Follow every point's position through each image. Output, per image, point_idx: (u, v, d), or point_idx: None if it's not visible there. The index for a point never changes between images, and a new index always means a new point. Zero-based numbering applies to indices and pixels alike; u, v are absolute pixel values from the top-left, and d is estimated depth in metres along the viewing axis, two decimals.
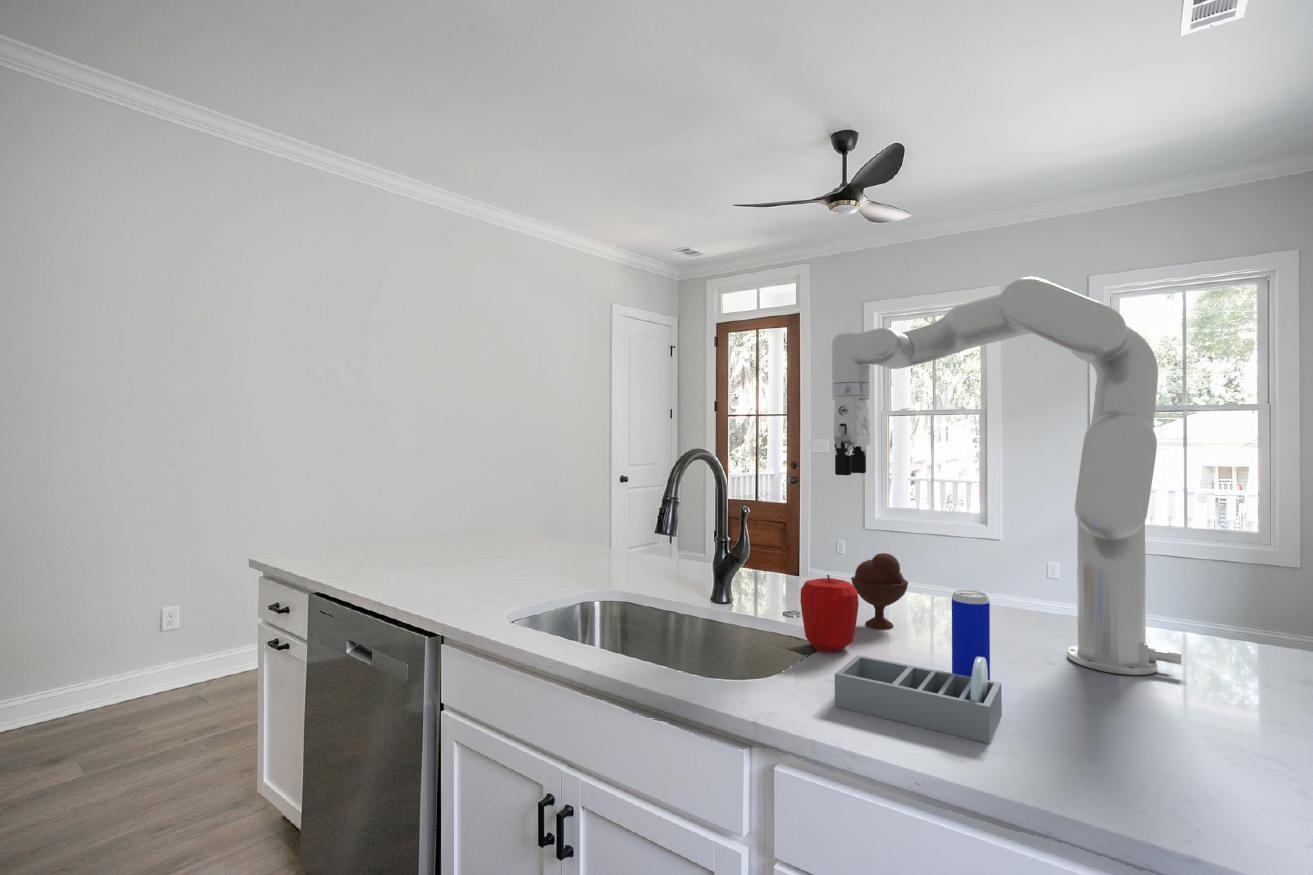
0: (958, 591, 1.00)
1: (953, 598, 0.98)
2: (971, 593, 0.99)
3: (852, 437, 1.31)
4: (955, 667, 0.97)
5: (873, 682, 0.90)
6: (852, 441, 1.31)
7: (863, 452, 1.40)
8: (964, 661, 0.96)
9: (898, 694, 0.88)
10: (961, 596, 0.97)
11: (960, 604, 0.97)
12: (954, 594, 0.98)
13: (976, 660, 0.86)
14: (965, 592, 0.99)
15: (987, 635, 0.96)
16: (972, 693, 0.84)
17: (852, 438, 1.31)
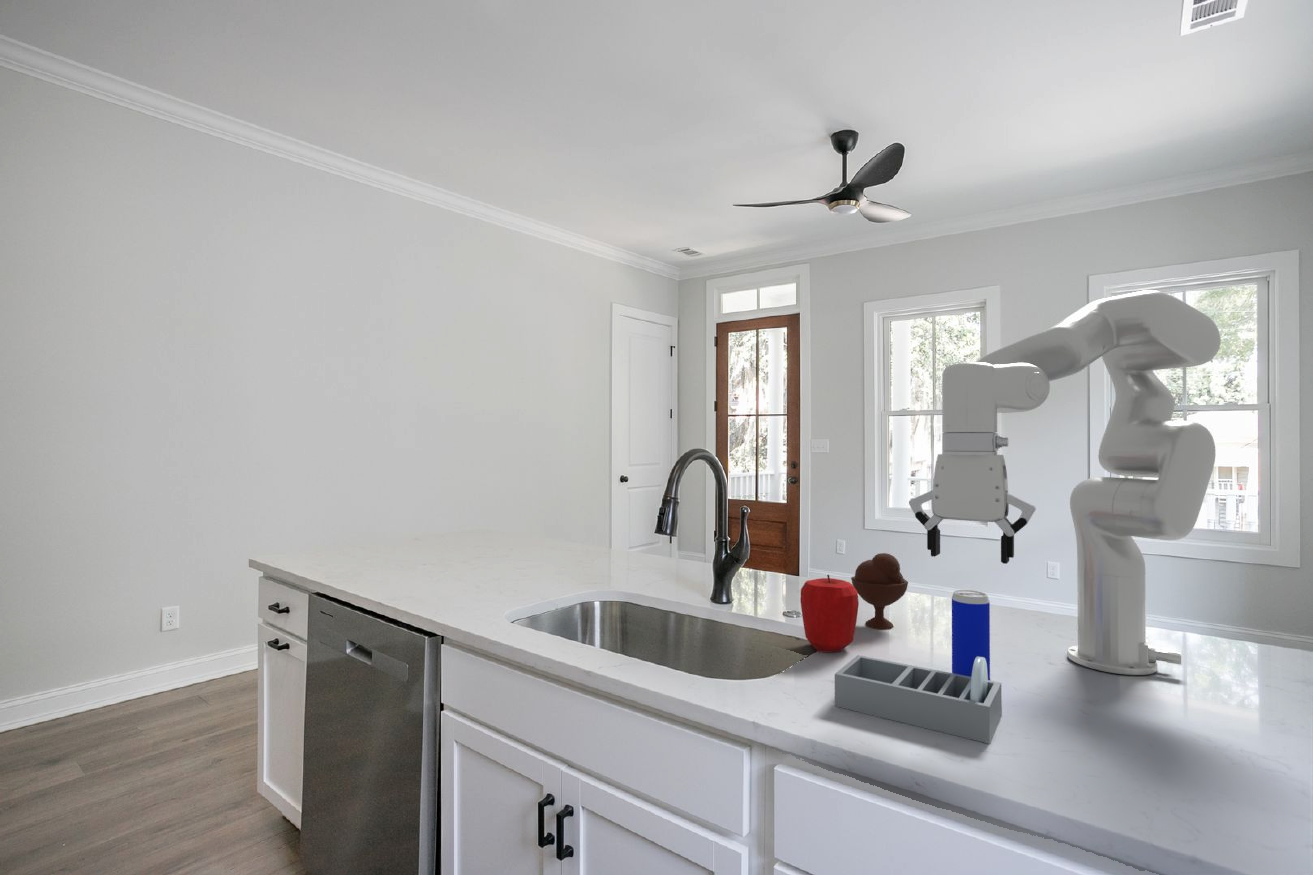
0: (958, 591, 1.00)
1: (953, 598, 0.98)
2: (971, 593, 0.99)
3: (1008, 508, 0.97)
4: (955, 667, 0.97)
5: (873, 682, 0.90)
6: None
7: None
8: (964, 661, 0.96)
9: (898, 694, 0.88)
10: (961, 596, 0.97)
11: (960, 604, 0.97)
12: (954, 594, 0.98)
13: (976, 660, 0.86)
14: (965, 592, 0.99)
15: (987, 635, 0.96)
16: (972, 693, 0.84)
17: (1008, 510, 0.97)
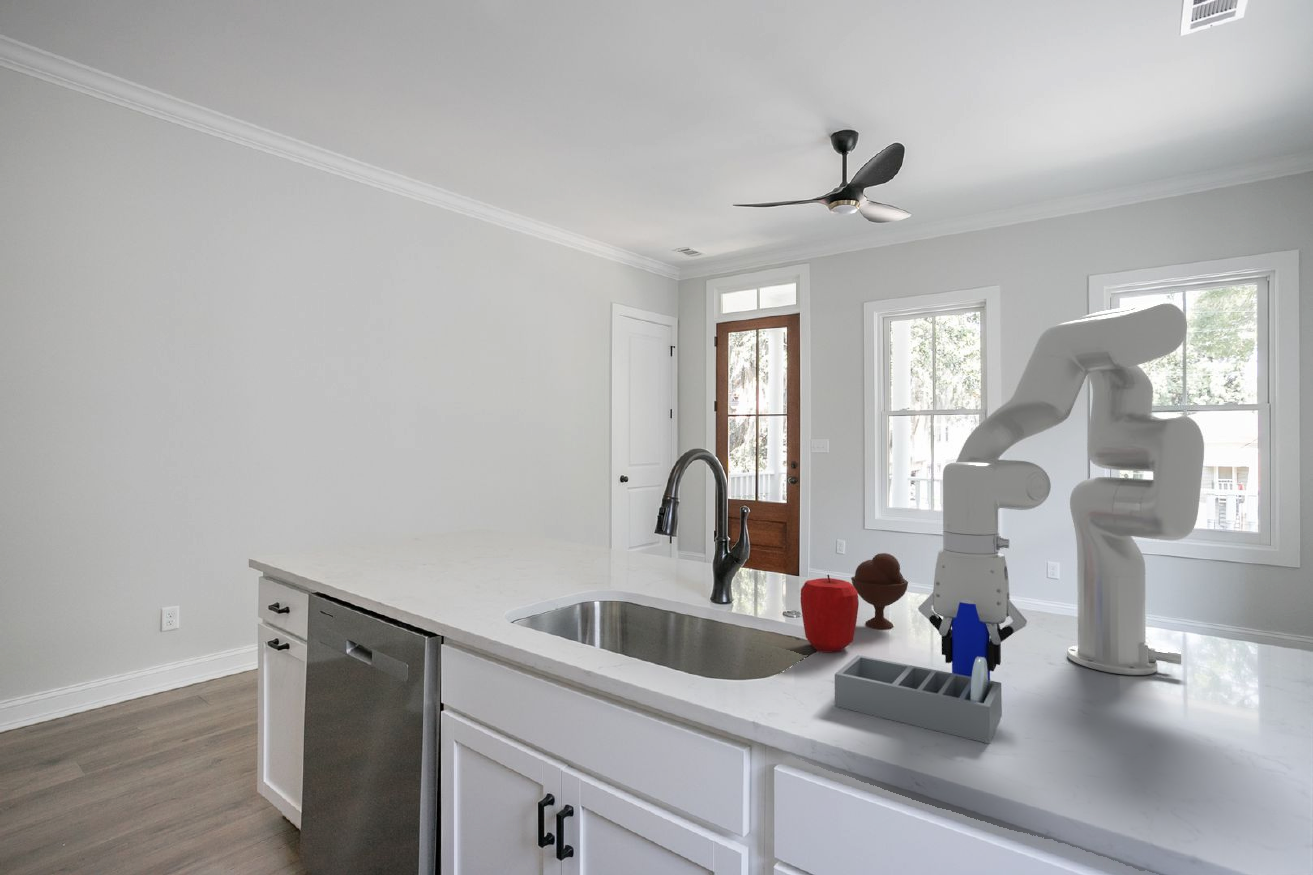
0: None
1: None
2: None
3: None
4: (955, 667, 0.97)
5: (873, 682, 0.90)
6: None
7: (950, 628, 1.01)
8: (964, 661, 0.96)
9: (898, 694, 0.88)
10: None
11: (960, 604, 0.97)
12: None
13: (976, 660, 0.86)
14: None
15: (987, 635, 0.96)
16: (972, 693, 0.84)
17: None
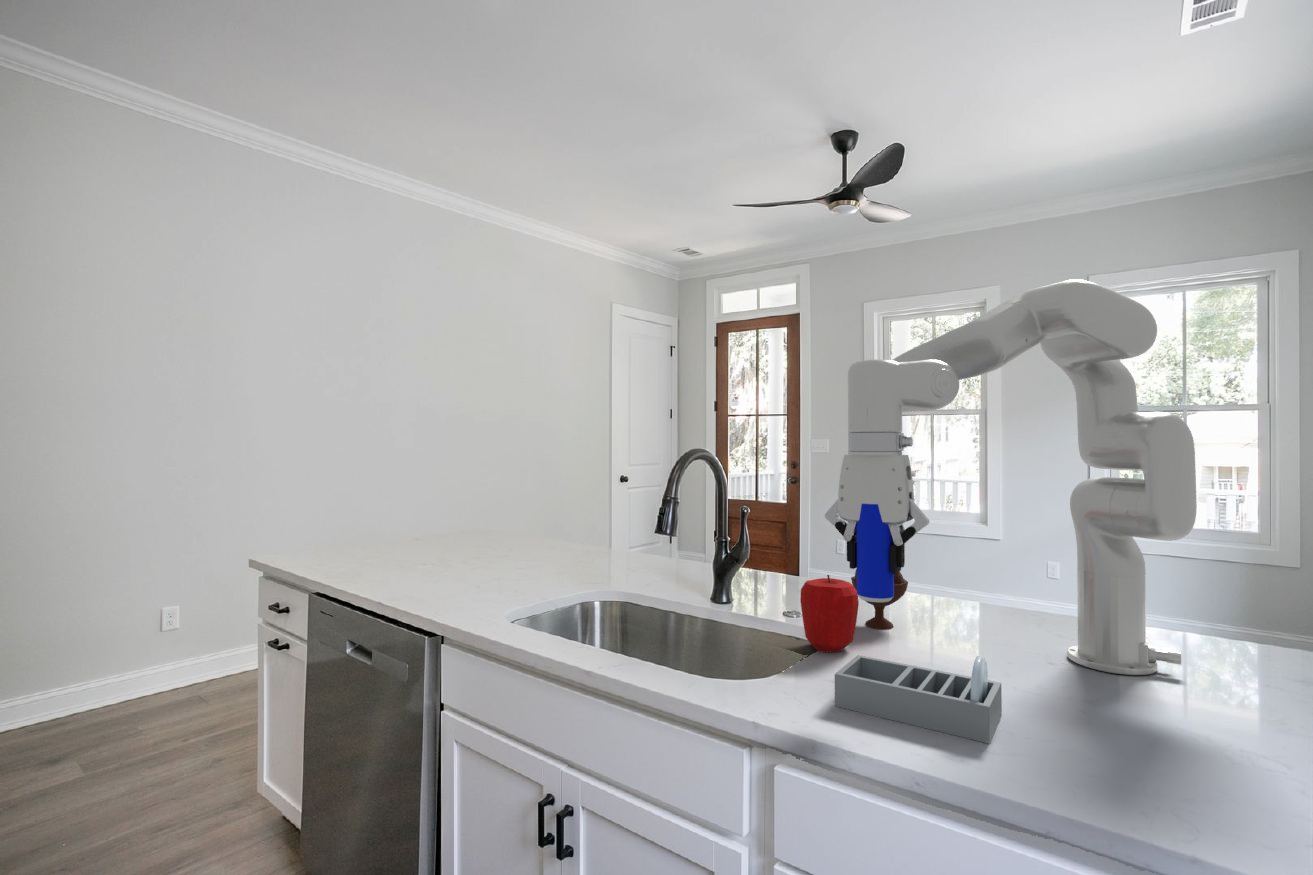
0: None
1: None
2: None
3: None
4: (858, 571, 0.94)
5: (873, 682, 0.90)
6: None
7: None
8: (866, 564, 0.93)
9: (898, 694, 0.88)
10: None
11: (863, 506, 0.93)
12: None
13: (976, 660, 0.86)
14: None
15: (890, 537, 0.93)
16: (972, 693, 0.84)
17: None
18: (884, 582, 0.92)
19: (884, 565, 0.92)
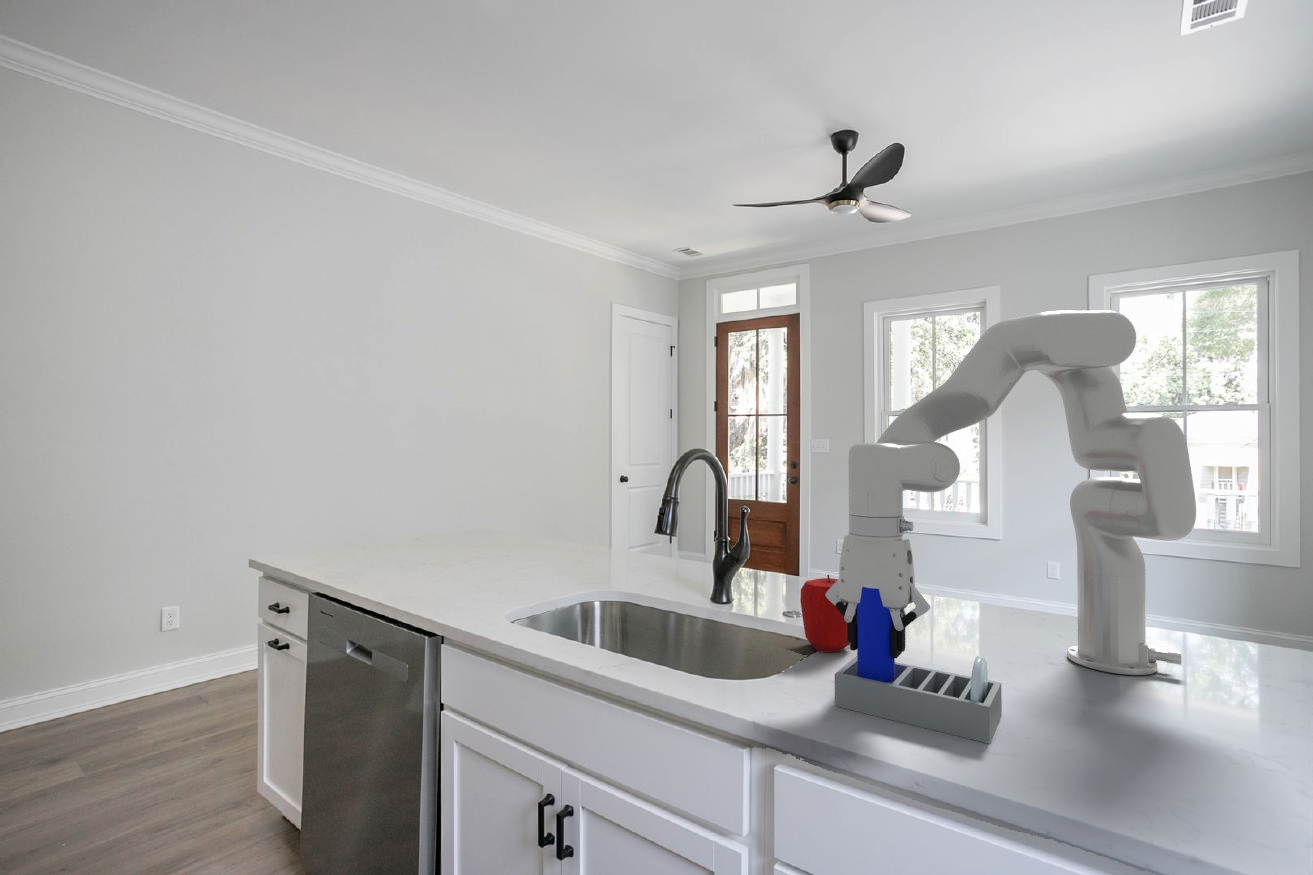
0: None
1: None
2: None
3: None
4: (859, 654, 0.94)
5: (873, 682, 0.90)
6: None
7: None
8: (867, 647, 0.93)
9: (898, 694, 0.88)
10: None
11: (863, 589, 0.93)
12: None
13: (976, 660, 0.86)
14: None
15: (890, 621, 0.93)
16: (972, 693, 0.84)
17: None
18: (885, 666, 0.92)
19: (884, 649, 0.92)
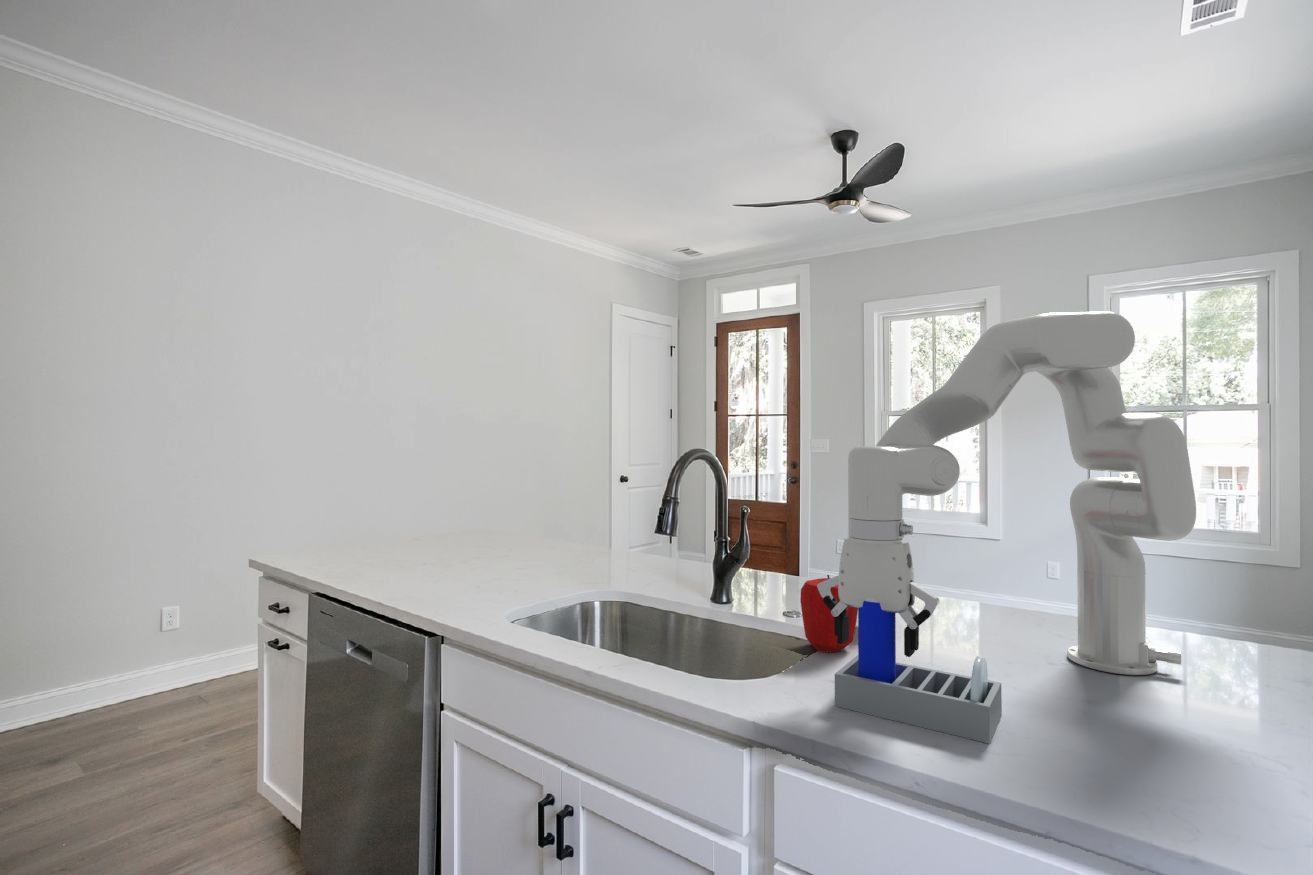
0: None
1: None
2: None
3: (914, 597, 0.93)
4: (860, 667, 0.94)
5: (873, 682, 0.90)
6: None
7: None
8: (868, 661, 0.93)
9: (898, 694, 0.88)
10: None
11: (865, 603, 0.93)
12: None
13: (976, 660, 0.86)
14: None
15: (891, 635, 0.93)
16: (972, 693, 0.84)
17: (914, 599, 0.94)
18: (886, 680, 0.92)
19: (885, 663, 0.92)
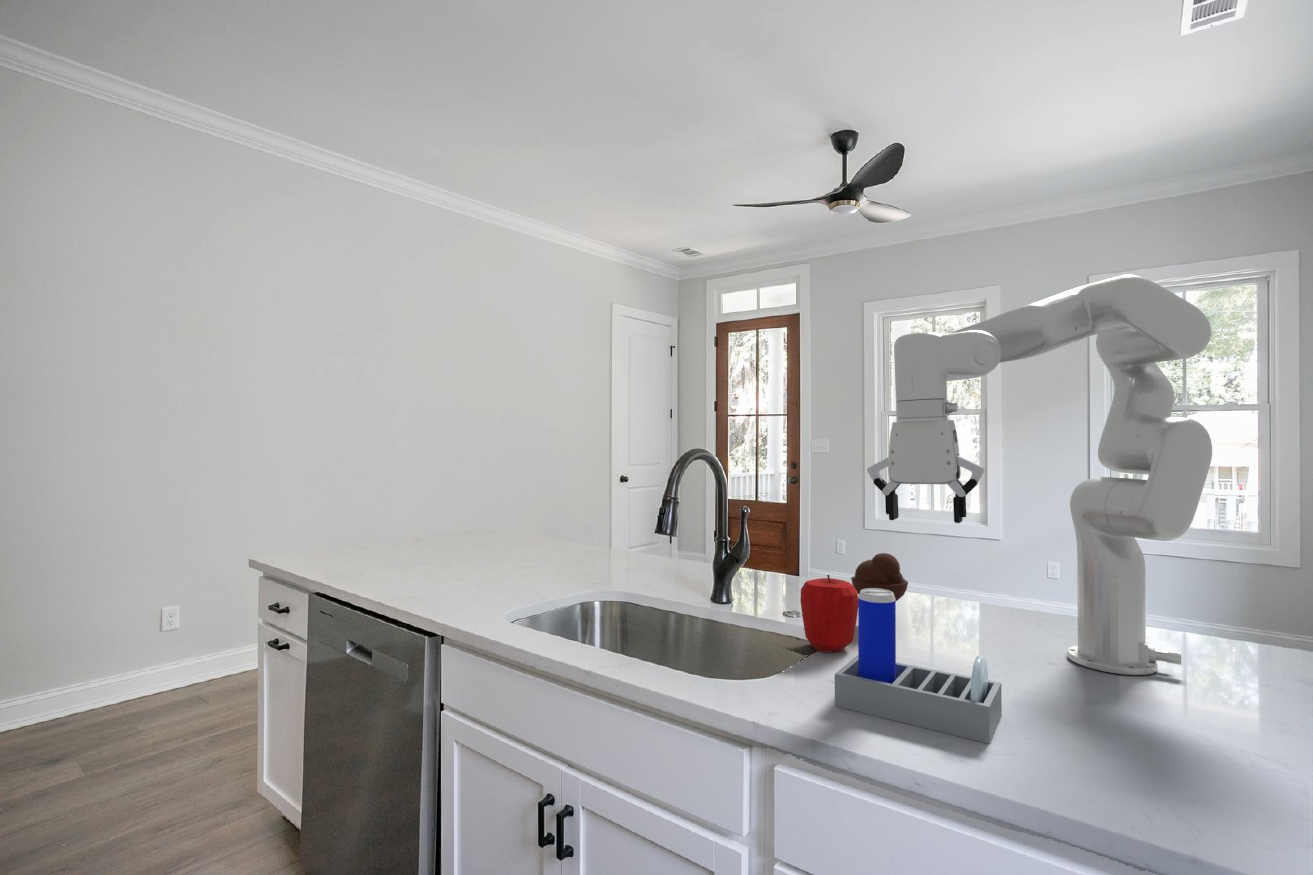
0: (866, 589, 0.96)
1: (859, 596, 0.95)
2: (878, 591, 0.96)
3: (960, 471, 1.01)
4: (860, 667, 0.94)
5: (873, 682, 0.90)
6: None
7: None
8: (868, 661, 0.93)
9: (898, 694, 0.88)
10: (866, 594, 0.94)
11: (865, 603, 0.93)
12: (860, 592, 0.95)
13: (976, 660, 0.86)
14: (873, 590, 0.96)
15: (891, 635, 0.93)
16: (972, 693, 0.84)
17: (960, 473, 1.01)
18: (886, 680, 0.92)
19: (885, 663, 0.92)
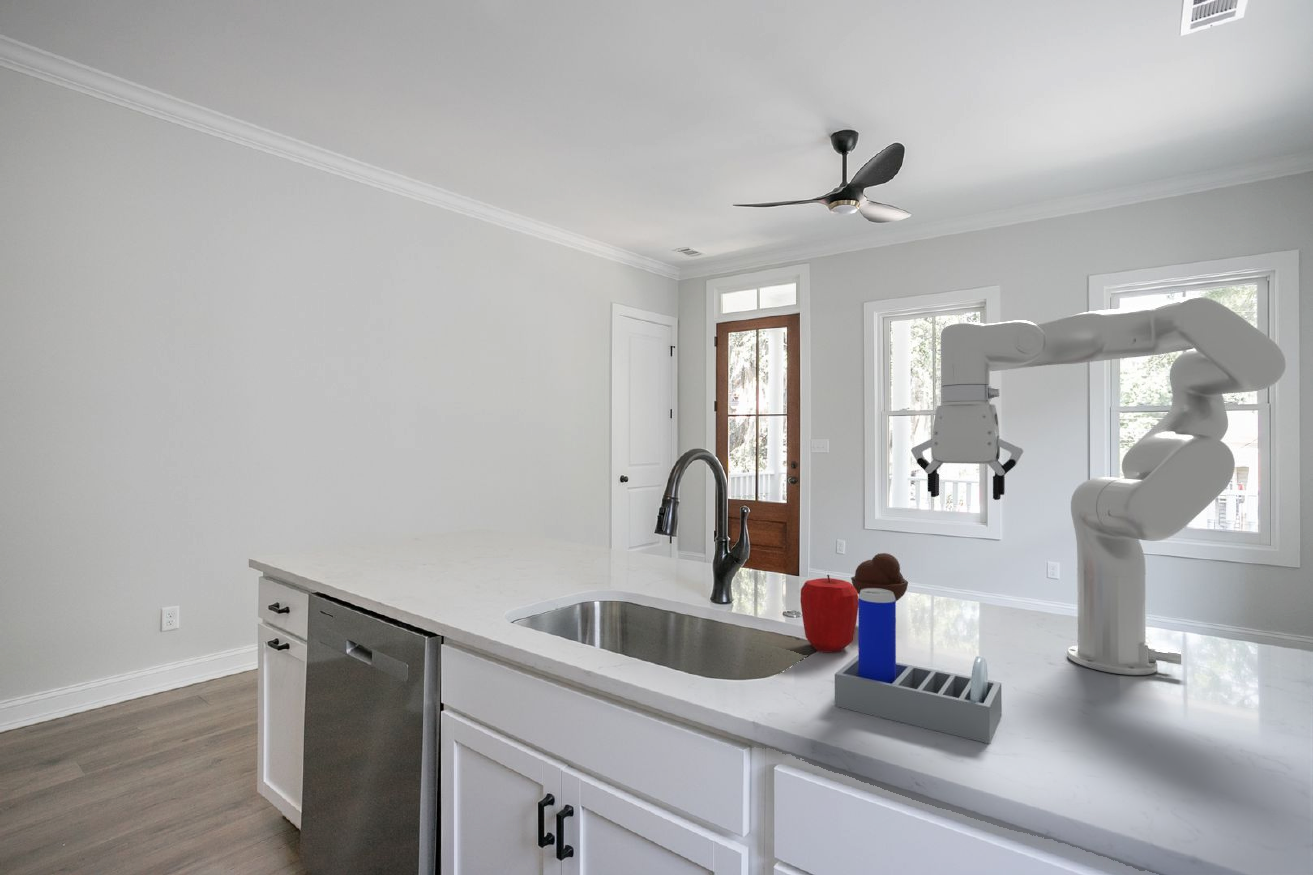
0: (866, 589, 0.96)
1: (859, 596, 0.95)
2: (878, 591, 0.96)
3: (999, 452, 1.09)
4: (860, 667, 0.94)
5: (873, 682, 0.90)
6: (999, 457, 1.09)
7: None
8: (868, 661, 0.93)
9: (898, 694, 0.88)
10: (866, 594, 0.94)
11: (865, 603, 0.93)
12: (860, 592, 0.95)
13: (976, 660, 0.86)
14: (873, 590, 0.96)
15: (892, 635, 0.93)
16: (972, 693, 0.84)
17: (999, 454, 1.09)
18: (886, 680, 0.92)
19: (885, 663, 0.92)
